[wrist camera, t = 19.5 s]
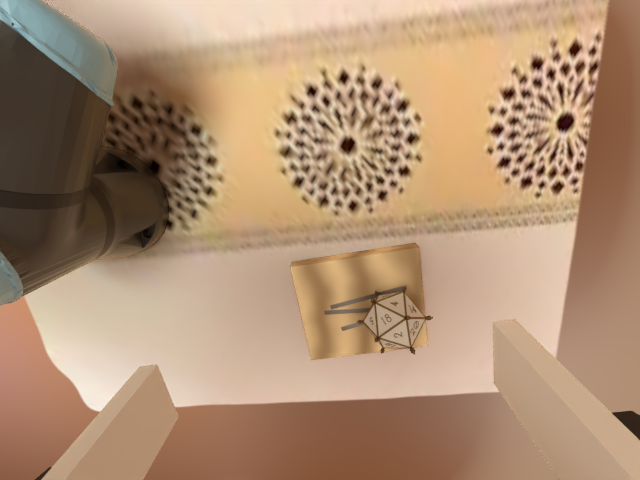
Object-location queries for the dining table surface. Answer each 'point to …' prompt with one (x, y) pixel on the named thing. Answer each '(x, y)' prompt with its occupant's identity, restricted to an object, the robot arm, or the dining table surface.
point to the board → (353, 296)
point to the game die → (394, 320)
